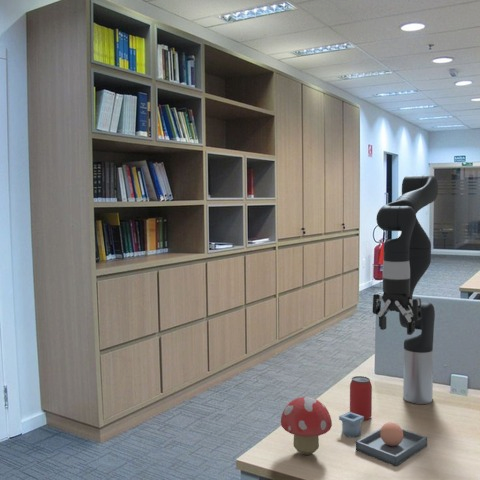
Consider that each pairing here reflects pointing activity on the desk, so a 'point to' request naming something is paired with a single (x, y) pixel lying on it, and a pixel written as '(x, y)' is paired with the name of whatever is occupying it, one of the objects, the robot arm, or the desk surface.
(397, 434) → the ball
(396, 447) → the tray
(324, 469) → the desk surface
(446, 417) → the desk surface
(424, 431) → the desk surface
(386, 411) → the desk surface
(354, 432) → the square to round adapter
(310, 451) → the decorative mushroom
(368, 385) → the beer can
